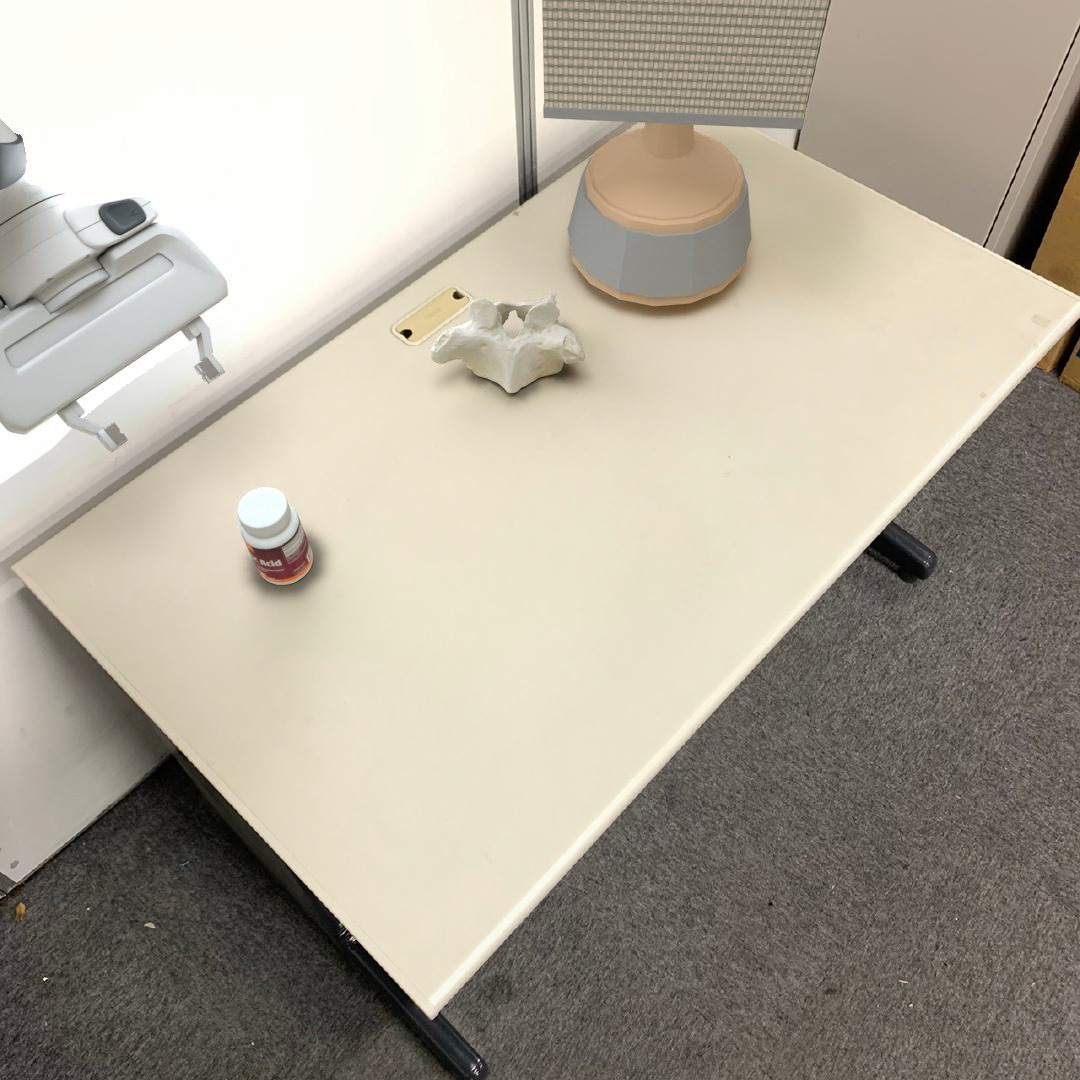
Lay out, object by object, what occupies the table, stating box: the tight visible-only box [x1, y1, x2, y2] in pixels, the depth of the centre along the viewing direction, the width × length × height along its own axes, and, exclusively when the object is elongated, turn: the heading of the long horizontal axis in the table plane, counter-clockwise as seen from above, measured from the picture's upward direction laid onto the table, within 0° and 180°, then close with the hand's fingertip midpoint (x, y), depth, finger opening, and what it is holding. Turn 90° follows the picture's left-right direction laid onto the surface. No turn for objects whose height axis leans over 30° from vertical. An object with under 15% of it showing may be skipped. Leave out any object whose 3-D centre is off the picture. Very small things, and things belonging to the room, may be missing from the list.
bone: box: [430, 292, 586, 394], centre depth 94 cm, size 9×14×8 cm, turn 104°
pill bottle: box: [236, 486, 314, 586], centre depth 82 cm, size 5×5×8 cm
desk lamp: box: [541, 0, 830, 307], centre depth 91 cm, size 22×19×37 cm
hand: (169, 412), depth 79 cm, fingers open, 8 cm apart
